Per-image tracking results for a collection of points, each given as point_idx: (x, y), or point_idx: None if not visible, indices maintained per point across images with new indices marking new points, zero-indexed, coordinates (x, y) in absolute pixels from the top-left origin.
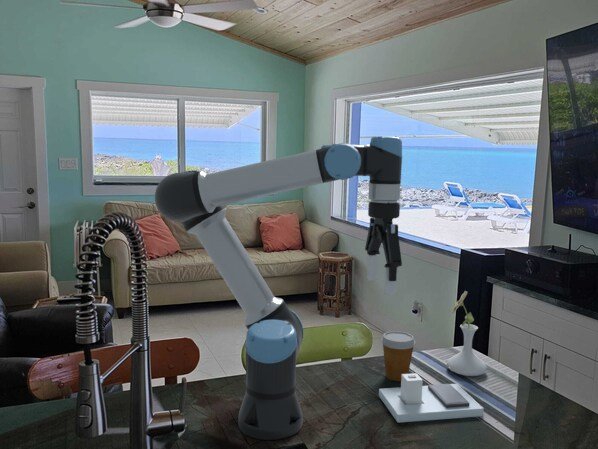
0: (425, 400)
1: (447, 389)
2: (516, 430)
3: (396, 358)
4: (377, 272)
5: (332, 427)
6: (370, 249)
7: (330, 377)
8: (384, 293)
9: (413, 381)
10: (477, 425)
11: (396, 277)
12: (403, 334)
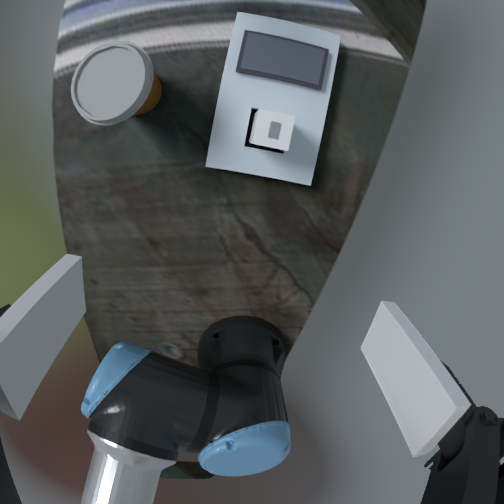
0: (281, 106)
1: (268, 48)
2: (385, 33)
3: (148, 101)
4: (59, 284)
5: (281, 283)
6: (4, 459)
7: (112, 221)
8: (363, 348)
9: (290, 137)
10: (358, 69)
11: (436, 360)
12: (93, 60)
